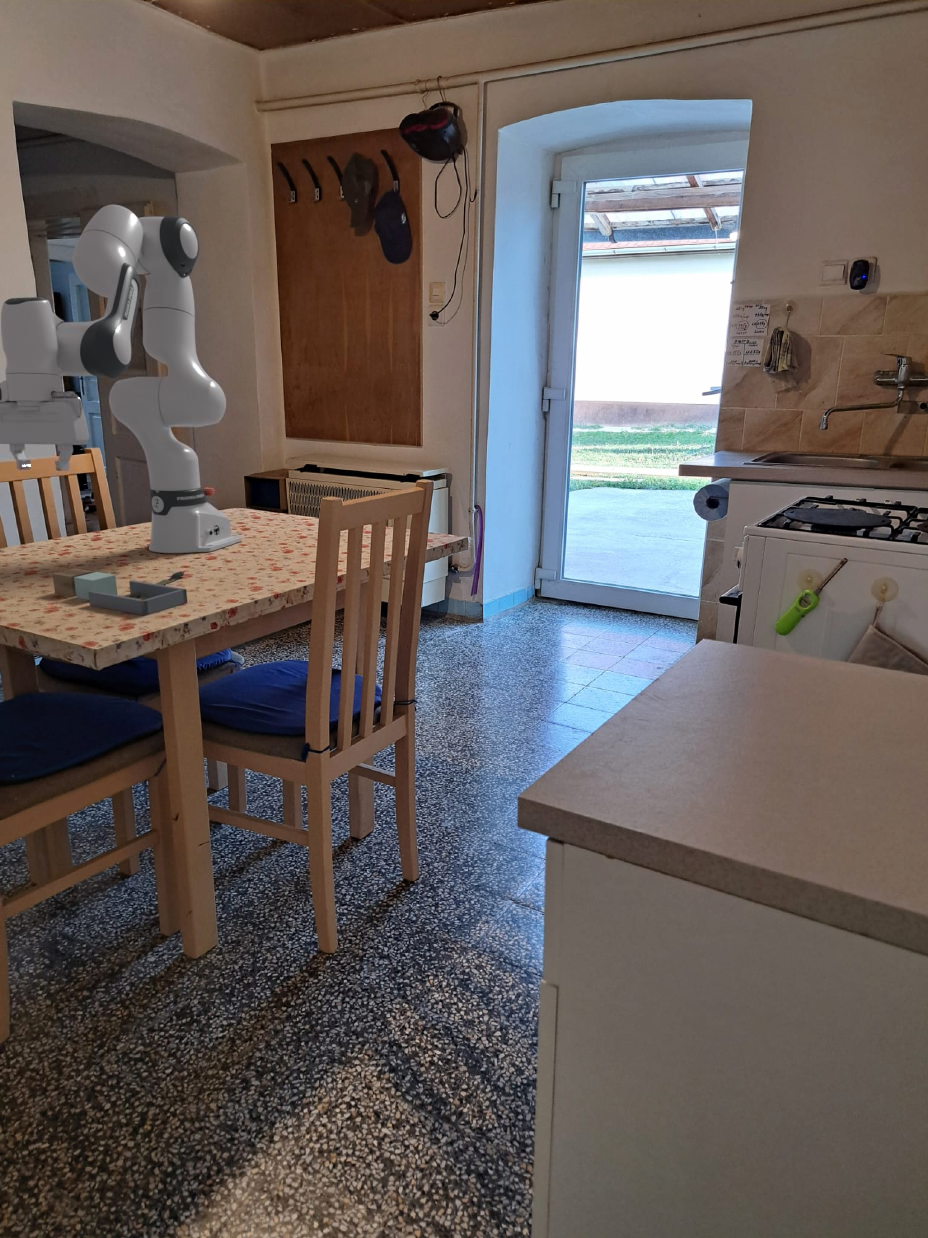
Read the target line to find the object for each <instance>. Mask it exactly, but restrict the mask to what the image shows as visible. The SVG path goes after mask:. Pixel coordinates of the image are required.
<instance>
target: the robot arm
mask: <svg viewBox="0 0 928 1238" xmlns="http://www.w3.org/2000/svg"><path fill="white" fill-rule="evenodd" d="M199 251H200V243H199V239H198V234H197V233H196V230H195V229H194V227H193V226H192V225H191V223H190V222H189V220H187V219H186V218H184V217H181V216H177V215H169V214H168V215H165V216H143V217H138V216H137V215H136V214H135V213H134V212H133V211H131V210H130V209H129V208H126V207H125V206H123V205H119V204H108V205H104V206H103V207H101V208H100V209H99V210H97V212H96V213H95V214H94V215H93V216H92V218H91V219H90V220H89V221H88V223H87V224H86V226H85V227H84V229H83V231H82V232H81V234H80V236H79V238H78V239H77V242H76V243H75V246H74V249H73V253H72V259H71V260H72V262H71V263H72V267H73V270H74V272H75V274H76V276H77V277H78V279H79V280H80V282H81V283H82V284H83V285H84V286H85V287H86V288H87V289H88V290H90V291H91V292H92V293H95V294H96V295H98V296H101V297H103V298H107V303H106V307H105V311H104V315H103V316H102V317H100V318H98V319H94V320H91V321H76V322H75V321H68V322H67V321H65V320H64V319H61V317H59V316H57V315H56V313H54V312H53V309H52V305H51V302H50V301H49V299H47V298H45V297H40V296H39V297H38V296H36V297H35V296H33V297H31V296H30V297H13V298H12V297H11V298H8V299H6V300H5V301H3V303H2V307H1V312H0V331H1V335H0V336H1V344H2V349H3V352H4V355H5V358H6V367H5V380H3V381H1V382H0V444H1V445H9V451H10V453H11V455H12V456H13V457H14V459H15V461H16V468H17V469H18V470H19V471H20V470H21V471H24V470H25V471H28V470H29V471H30V470H31V468H32V466H31V459H27V457H26V455H25V452H24V451H25V450H26V447H25V445H57V451H58V452H59V457H58V460H55V461H54V465H55V470H56V471H58V472H60V471H61V472H65V471H66V472H68V471H70V460H71V458H72V455H73V453H74V446H76V445H77V446H82V445H83V446H84V445H87V443H88V441H89V438H90V433H89V429H88V428H89V427H88V424H87V418H86V413H85V411H84V408H83V403H82V399H81V398H80V397H79V395H78V394H76V392H74V391H71V390H70V391H63V386H62V384H63V383H62V377H65V376H66V377H97V378H110V379H116V378H119V377H120V376H122V375H123V374H124V373H125V372H126V371H127V370H128V368H129V366H130V365H131V363H132V359H133V339H134V338H133V337H134V331H135V327H136V322H137V318H138V317H137V316H138V311H139V307H140V300H141V292H142V285H141V279H140V277H139V275H144V278H145V281H146V284H145V288H144V295H143V308H142V309H143V310H142V312H143V313H142V345H143V348H144V349H145V352H146V353H147V354H148V355H149V356H150V357H152V358H153V359H154V360H156V361H157V362H160V363H161V364H163V365H166V367H167V376H135V377H129V378H124V379H119V380H117V381H116V382H115V383H114V384H113V385H112V387H111V389H110V391H109V396H108V403H109V408H110V410H111V412H112V413H111V414H113V416H114V417H115V419H116V420H117V421H118V422H120V424H121V423H122V424H123V425H124V426H125V427H127V428H128V430H130V431H131V432H132V433H133V435H134V436H135V437H136V439H137V440H138V442H139V443H140V445H141V447H142V449H143V451H144V452H143V453H144V456H145V459H146V465H147V470H148V471H147V472H148V477H149V485H150V488H149V489H148V500H149V504H150V507H151V530H150V531H151V532H150V541H149V546H148V550H149V551H151V552H154V553H163V554H185V553H186V554H187V553H208V552H213V551H216V550H219V549H223V548H224V547H229V546H231V545H234V544H238V543H239V542H242V541H243V538H242V536H240V535H237V534H234V533H233V532H232V526H231V523H230V519H229V518H228V516H227V515H226V514H224V513H223V512H221V511H220V510H219V509H217V508H216V507H215V506H213V505H212V504H211V503H209V502H208V498H207V496H208V497H213V496H215V494H216V493H215V492H216V491H215V489H214V487H204V488H203V487H202V486H201V477H200V466H199V465H200V464H199V458H198V455H197V452H196V451H195V450H194V449H193V448H192V447H190V446H188V444H185V443H183V442H181V441H179V440H178V439H177V438H176V437H175V435H174V433H173V430H172V428H199V427H200V428H201V427H205V426H211V425H215V424H218V423H219V422H220V421H222V419H223V417H224V416H225V412H226V409H227V398H226V395H225V393H224V390H223V389H222V387H221V386H220V384H219V383H218V382H217V381H215V380H214V379H213V378H211V377H210V375H208V373H206V371H205V370H204V368H203V366H202V365H201V363H200V361H199V357H198V355H197V347H196V331H195V330H196V326H195V324H196V323H195V322H196V321H195V319H196V311H195V310H196V309H195V297H194V289H193V286H192V280H191V278H190V275H191V274H192V271H193V269H194V267H195V265H196V264H197V260H198V258H199Z"/></svg>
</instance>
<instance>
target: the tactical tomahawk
mask: <svg viewBox="0 0 928 1238" xmlns="http://www.w3.org/2000/svg"><path fill="white" fill-rule="evenodd" d="M184 575H185V571H178V572H175V573H173V574H171V576H170V578H168V579H163V580H161V581H158V582H156V583H155V584H158V585H164V586H167V585H170V584H172V583H174V582H176V581H178V580H179V579H180V577H184ZM166 584H167V585H166ZM128 597H130V598H136V599H141V598H140V597H141V596H140V594H139V593H134V594H129V595H128Z"/></svg>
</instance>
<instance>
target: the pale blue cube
mask: <svg viewBox="0 0 928 1238" xmlns="http://www.w3.org/2000/svg"><path fill="white" fill-rule="evenodd" d="M116 576H117V575H116V574H113V573H112V574H111V573H106V572H99V571H96V572H93V573H90V574H86V575H82V576H78V577H74V581H75V589H76V596H75V597H76V598H77V599H82V600H88V601H89V594H88V592H89V591H97V592H103V593H108V594H114V595H118V586H117V578H116Z"/></svg>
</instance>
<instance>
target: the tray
mask: <svg viewBox="0 0 928 1238" xmlns="http://www.w3.org/2000/svg"><path fill="white" fill-rule="evenodd" d="M128 583H129V593H130V594H129V595H131V594H134V593H139V594H140V596H139V597H146V599H145V598H144V599H141V598H130V597H129V596H124V595H114V594H108V593H103V592H97V591H89V592H88V594H89V600H88V601H89V606H94V607H98V608H103V609H108V610H109V609H110V610H114V611H119V612H125V613H130V614H134V613H135V614H134V615H141V616H149V615H152V614H154V613H158V612H161V611H165V610H168V609H171V608H174V607H177V606H182V605H184V604H187V603H188V594H187V588H181V587H175V586H169V585H158V584H156V583H150V582H145V581H139V580H133V579H132V580H129V581H128ZM151 613H152V614H151Z"/></svg>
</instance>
